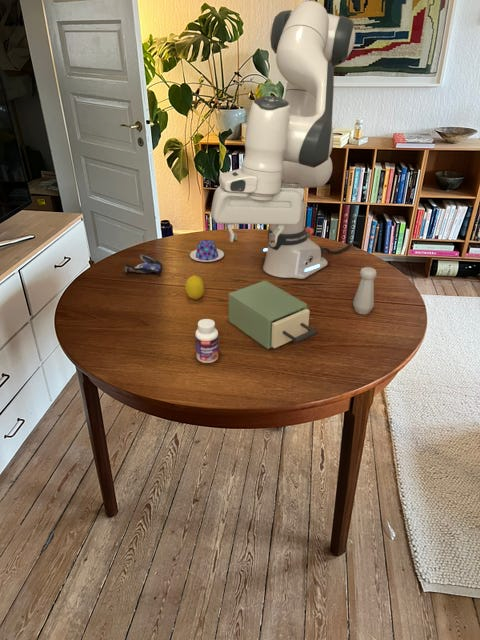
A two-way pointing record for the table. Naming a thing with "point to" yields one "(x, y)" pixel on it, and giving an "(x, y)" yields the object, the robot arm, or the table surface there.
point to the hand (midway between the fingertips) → (253, 241)
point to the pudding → (206, 252)
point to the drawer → (291, 328)
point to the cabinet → (260, 309)
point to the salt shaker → (365, 291)
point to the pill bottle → (207, 341)
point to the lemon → (194, 287)
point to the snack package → (145, 266)
